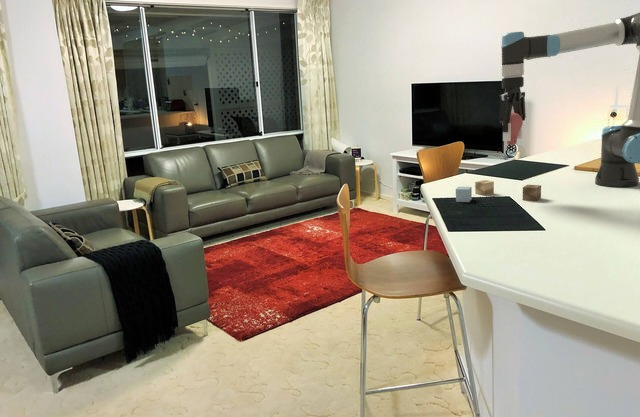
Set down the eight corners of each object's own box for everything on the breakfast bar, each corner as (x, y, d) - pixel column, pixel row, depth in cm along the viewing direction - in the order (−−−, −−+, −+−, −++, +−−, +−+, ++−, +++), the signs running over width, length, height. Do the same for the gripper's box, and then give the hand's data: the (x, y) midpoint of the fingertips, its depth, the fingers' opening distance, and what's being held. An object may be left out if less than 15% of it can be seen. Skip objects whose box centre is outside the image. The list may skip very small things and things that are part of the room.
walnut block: (540, 198, 190) (541, 185, 189) (536, 201, 187) (536, 188, 186) (527, 197, 194) (527, 184, 192) (522, 200, 190) (522, 187, 189)
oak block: (493, 193, 204) (493, 181, 203) (484, 195, 202) (484, 183, 201) (484, 192, 209) (484, 180, 207) (475, 193, 207) (475, 181, 205)
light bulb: (523, 143, 193) (523, 111, 191) (521, 146, 187) (522, 113, 184) (503, 144, 196) (503, 112, 194) (501, 146, 190) (501, 114, 187)
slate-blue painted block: (471, 199, 198) (471, 186, 197) (469, 202, 194) (469, 189, 192) (458, 199, 200) (458, 186, 199) (455, 202, 196) (455, 189, 195)
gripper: (517, 76, 195) (517, 136, 200) (488, 78, 183) (488, 142, 188) (536, 74, 189) (535, 136, 194) (507, 77, 177) (507, 143, 182)
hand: (512, 139), depth 191 cm, fingers closed on light bulb, 7 cm apart
